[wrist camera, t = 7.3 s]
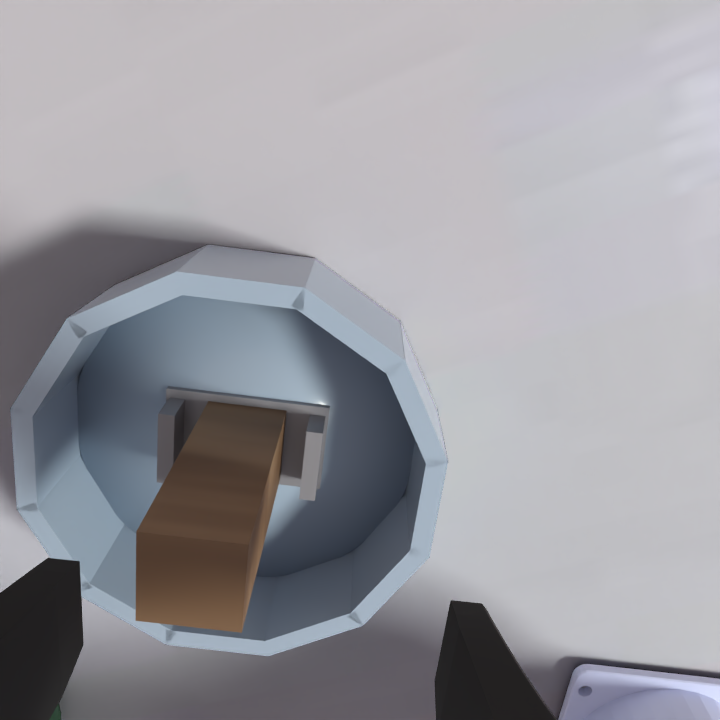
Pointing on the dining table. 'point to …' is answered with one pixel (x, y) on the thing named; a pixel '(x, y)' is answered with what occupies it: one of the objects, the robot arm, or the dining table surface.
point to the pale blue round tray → (249, 388)
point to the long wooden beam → (211, 520)
